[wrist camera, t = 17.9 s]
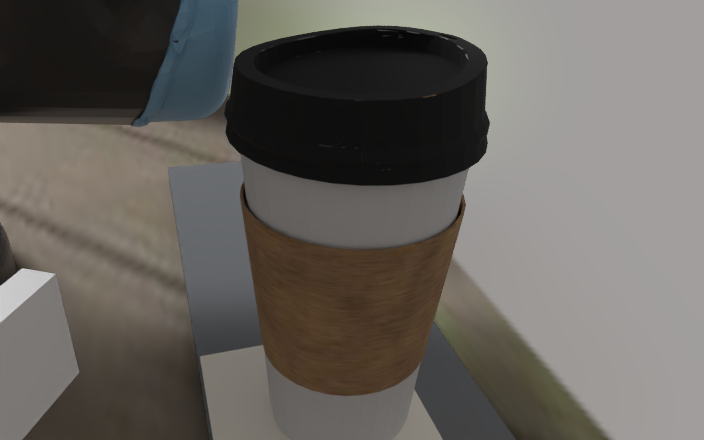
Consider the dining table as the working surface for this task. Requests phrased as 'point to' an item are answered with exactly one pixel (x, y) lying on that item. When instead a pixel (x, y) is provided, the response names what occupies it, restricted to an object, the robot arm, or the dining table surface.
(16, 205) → the dining table surface
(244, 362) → the mat
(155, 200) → the dining table surface
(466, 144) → the coffee cup
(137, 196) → the dining table surface
